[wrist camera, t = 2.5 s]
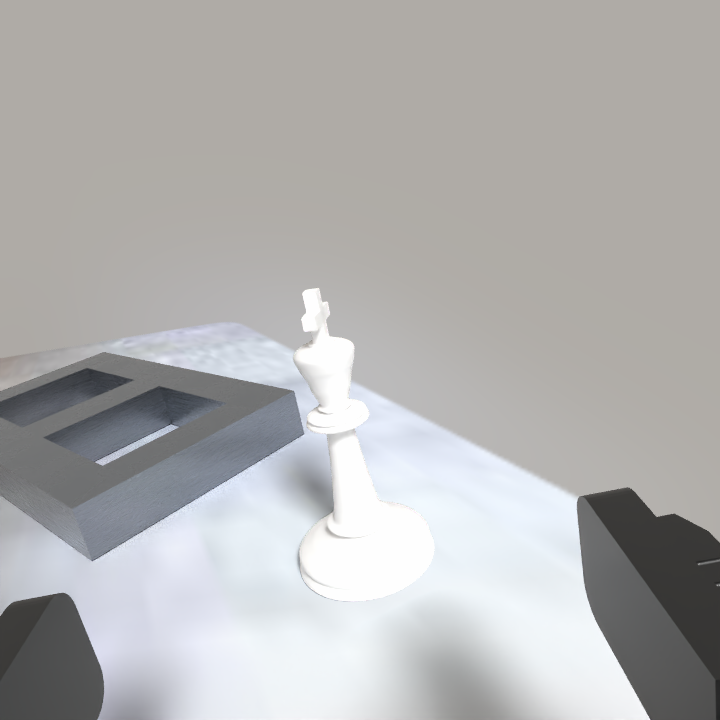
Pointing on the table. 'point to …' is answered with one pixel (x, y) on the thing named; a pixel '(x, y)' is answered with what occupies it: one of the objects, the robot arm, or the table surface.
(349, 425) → the chess piece
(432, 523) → the table surface
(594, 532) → the robot arm
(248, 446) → the grey two-window frame
